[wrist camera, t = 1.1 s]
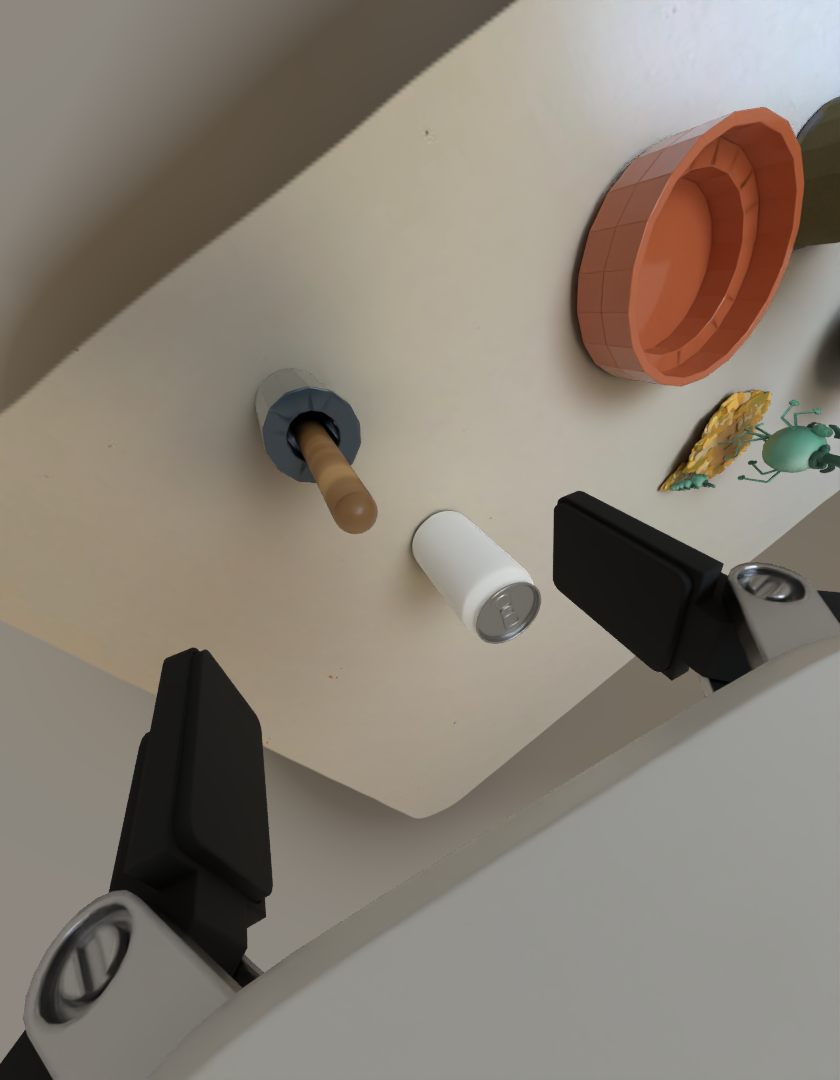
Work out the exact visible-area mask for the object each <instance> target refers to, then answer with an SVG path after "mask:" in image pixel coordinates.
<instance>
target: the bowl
mask: <svg viewBox="0 0 840 1080" xmlns="http://www.w3.org/2000/svg"><path fill="white" fill-rule="evenodd" d="M803 193H804V174H803V163H802V153H801V147H800V145H799V142H798V140H797V138H796V136H795V134H794V132H793V130H792V128H791V126H790V124H789V121H787V120H786V119H784V118H783V117H781V116H779V115H778V114H776V113H774V112H773V111H771V110H769V109H767V108H766V107H760V108H754V109H747V110H741V111H735V112H732V113H730V114H727V115H725V116H722V117H719V118H717V119H714V120H712V121H709V122H707V123H704V124H701V125H699V126H696V127H694V128H691V129H689V130H686V131H683V132H681V133H678V134H676V135H673V136H671V137H668V138H665V139H663V140H661V141H659V142H658V143H657V144H655V145H654V146H652V147H651V148H650V149H648V150H647V151H645V152H644V153H642V154H641V155H640V156H638V157H637V158H635V159H634V160H633V161H632V162H631V164H630V165H629V166H628V168H627V169H626V170H625V171H624V173H623V174H622V175H621V177H620V178H619V179H618V180H617V182H616V183H615V184H614V186H613V187H612V188H611V189H610V191H609V192H608V193H607V195H606V198H605V200H604V202H603V204H602V206H601V208H600V210H599V212H598V215H597V217H596V219H595V221H594V223H593V225H592V227H591V229H590V231H589V235H588V239H587V243H586V247H585V251H584V255H583V259H582V263H581V267H580V271H579V276H578V299H577V315H578V319H579V324H580V329H581V334H582V339H583V342H584V345H585V347H586V349H587V350H588V352H589V354H590V356H591V357H592V359H593V361H594V362H595V364H596V365H598V366H599V367H600V368H602V369H603V370H605V371H606V372H608V373H609V374H611V375H612V376H616V377H621V378H627V379H632V380H638V381H644V382H649V383H655V384H660V385H671V386H684V385H686V384H689V383H692V382H695V381H698V380H700V379H703V378H705V377H706V376H708V375H709V374H710V373H712V372H713V371H715V370H716V369H717V368H719V367H720V366H721V365H723V364H724V363H725V362H727V361H728V360H729V359H730V358H731V357H732V356H733V354H734V353H735V352H736V351H737V350H738V349H739V348H740V347H741V345H742V344H743V343H744V342H745V341H746V340H747V339H748V338H749V336H750V335H751V333H752V332H753V330H754V329H755V327H756V326H757V324H758V323H759V321H760V319H761V318H762V316H763V315H764V313H765V312H766V310H767V308H768V307H769V305H770V303H771V302H772V300H773V297H774V295H775V293H776V291H777V289H778V286H779V284H780V282H781V280H782V278H783V275H784V273H785V271H786V269H787V266H788V263H789V260H790V256H791V253H792V250H793V246H794V243H795V239H796V236H797V233H798V229H799V225H800V217H801V209H802V201H803Z"/></svg>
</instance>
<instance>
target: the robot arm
mask: <svg viewBox="0 0 840 1080" xmlns="http://www.w3.org/2000/svg"><path fill="white" fill-rule="evenodd" d="M722 567H723V563H721V562H719V561H717V560H715V559H713V558H711V557H709V556H708V555H706V554H704V553H702V552H700V551H698V550H696V549H694V548H692V547H690V546H688V545H686V544H684V543H682V542H680V541H678V540H676V539H674V538H672V537H670V536H668V535H667V534H665V533H663V532H661V531H659V530H657V529H655V528H653V527H651V526H649V525H647V524H645V523H643V522H641V521H639V520H637V519H635V518H633V517H631V516H629V515H627V514H626V513H624V512H622V511H620V510H618V509H616V508H614V507H612V506H610V505H608V504H606V503H604V502H602V501H600V500H598V499H596V498H594V497H592V496H590V495H588V494H586V493H585V492H582V491H576V492H574V493H572V494H569V495H567V496H564V497H562V498H560V499H559V500H558V503H557V505H556V506H555V508H554V541H553V581H554V584H555V586H556V587H557V589H558V590H559V591H560V592H562V593H563V594H564V595H565V596H566V597H567V598H569V599H570V600H571V601H572V602H573V603H574V604H576V605H577V606H578V607H579V608H580V609H582V610H583V611H584V612H585V613H586V614H587V615H589V616H590V617H591V618H592V619H593V620H594V621H596V622H597V623H598V624H599V625H600V626H602V627H603V628H604V629H605V630H606V631H607V632H609V633H610V634H611V635H612V636H613V637H614V638H616V639H617V640H618V641H619V642H620V643H622V644H623V645H624V646H625V647H626V648H627V649H629V650H630V651H631V652H632V653H633V654H634V655H636V656H637V657H638V658H639V659H640V660H642V661H643V662H644V663H645V664H646V665H648V666H649V667H650V668H652V669H653V670H654V671H657V672H662V673H663V674H664V675H666V676H667V677H668V678H669V679H670V680H674V679H675V678H677V677H678V676H680V675H682V674H684V673H686V672H687V671H688V670H689V667H690V668H692V669H693V670H694V671H695V672H697V673H698V676H699V680H700V683H701V686H702V689H703V693H704V697H705V698H704V699H702V700H701V701H699V702H697V703H696V704H694V705H692V706H691V707H689V708H687V709H686V710H684V711H682V712H681V713H679V714H677V715H676V716H674V717H672V718H671V719H669V720H667V721H666V722H664V723H662V724H661V725H659V726H657V727H656V728H654V729H653V730H651V731H649V732H648V733H646V734H645V735H643V736H641V737H639V738H638V739H636V740H634V741H633V742H631V743H630V744H628V745H626V746H624V747H623V748H621V749H620V750H618V751H616V752H615V753H613V754H611V755H610V756H608V757H607V758H605V759H603V760H601V761H600V762H598V763H597V764H595V765H593V766H592V767H590V768H588V769H587V770H585V771H583V772H582V773H580V774H579V775H577V776H575V777H574V778H572V779H570V780H569V781H567V782H565V783H564V784H562V785H561V786H559V787H557V788H556V789H554V790H552V791H551V792H549V793H547V794H546V795H544V796H543V797H541V798H539V799H538V800H536V801H535V802H533V803H531V804H529V805H528V806H526V807H525V808H523V809H521V810H520V811H518V812H516V813H515V814H513V815H511V816H510V817H508V818H507V819H505V820H504V821H502V822H500V823H498V824H497V825H495V826H494V827H492V828H490V829H489V830H487V831H486V832H484V833H482V834H481V835H479V836H478V837H476V838H474V839H473V840H471V841H469V842H468V843H466V844H464V845H463V846H461V847H460V848H458V849H457V850H455V851H453V852H452V853H450V854H448V855H447V856H445V857H444V858H442V859H440V860H439V861H437V862H435V863H434V864H432V865H431V866H429V867H427V868H426V869H424V870H423V871H421V872H419V873H418V874H416V875H414V876H413V877H411V878H410V879H408V880H406V881H405V882H403V883H401V884H400V885H398V886H396V887H395V888H393V889H392V890H390V891H388V892H387V893H385V894H384V895H382V896H380V897H379V898H377V899H376V900H374V901H373V902H371V903H369V904H368V905H366V906H365V907H363V908H362V909H360V910H359V911H357V912H355V913H354V914H352V915H351V916H349V917H348V918H346V919H345V920H343V921H341V922H340V923H338V924H337V925H335V926H334V927H332V928H330V929H329V930H327V931H326V932H324V933H323V934H321V935H320V936H318V937H317V938H315V939H314V940H312V941H310V942H309V943H307V944H306V945H304V946H302V947H301V948H299V949H298V950H296V951H295V952H293V953H292V954H290V955H289V956H287V957H286V958H285V959H283V960H282V961H280V962H279V963H277V964H276V965H275V966H273V967H272V968H271V969H269V970H268V971H266V972H265V973H264V972H263V971H262V970H261V969H260V968H258V967H257V966H256V965H255V964H254V963H253V962H252V961H251V960H250V959H249V958H248V957H246V955H244V953H245V951H246V949H247V928H248V927H250V926H251V925H253V924H255V923H256V922H258V921H260V920H262V919H263V918H265V917H266V909H265V897H267V896H269V895H270V894H271V892H272V886H273V882H272V867H271V853H270V840H269V827H268V812H267V799H266V785H265V772H264V758H263V745H262V731H261V726H260V722H259V719H258V717H257V716H256V714H255V713H254V711H253V710H252V709H251V707H250V706H249V705H248V703H247V702H246V701H245V699H244V698H243V697H242V695H241V694H240V693H239V691H238V690H237V688H236V687H235V686H234V684H233V683H232V682H231V680H230V679H229V678H228V676H227V675H226V674H225V672H224V671H223V670H222V668H221V667H220V666H219V664H218V663H217V662H216V660H215V659H214V658H213V656H212V655H211V653H210V652H209V651H208V650H203V651H199V650H198V649H196V648H190V649H188V650H185V651H183V652H180V653H178V654H175V655H173V656H170V657H168V658H166V659H165V660H164V663H163V667H162V672H161V677H160V682H159V688H158V693H157V698H156V703H155V709H154V714H153V719H152V724H151V730H150V732H148V733H146V734H145V736H144V737H143V738H142V740H141V744H140V746H139V751H138V755H137V760H136V765H135V770H134V775H133V780H132V784H131V789H130V794H129V799H128V803H127V808H126V813H125V818H124V822H123V827H122V832H121V837H120V841H119V846H118V851H117V856H116V861H115V865H114V870H113V875H112V880H111V885H110V889H109V893H108V894H105V895H103V896H101V897H98V898H97V899H95V900H94V901H92V902H91V903H90V904H88V905H87V906H86V907H84V908H83V909H82V910H80V911H79V912H78V913H77V914H76V915H75V916H74V917H73V918H72V919H71V920H70V921H69V922H68V923H67V924H66V926H65V927H64V928H63V929H62V930H61V932H60V933H59V934H58V935H57V937H56V938H55V940H54V941H53V942H52V944H51V945H50V946H49V948H48V949H47V951H46V953H45V954H44V956H43V958H42V960H41V962H40V963H39V966H38V967H37V969H36V971H35V973H34V975H33V978H32V981H31V984H30V987H29V989H28V992H27V995H26V999H25V1008H24V1016H23V1020H24V1024H25V1028H26V1030H25V1031H24V1032H23V1034H22V1035H21V1036H20V1038H19V1039H18V1041H17V1042H16V1043H15V1045H14V1046H13V1047H12V1049H11V1050H10V1051H9V1053H8V1054H7V1055H6V1057H5V1058H4V1059H3V1061H2V1062H1V1064H0V1080H840V593H837V592H828V591H818V590H816V589H815V588H814V586H813V585H812V584H811V583H810V582H809V581H808V580H807V579H806V578H804V577H803V576H801V575H800V574H798V573H796V572H794V571H792V570H789V569H787V568H784V567H781V566H777V565H773V564H768V563H759V562H756V563H744V564H740V565H737V566H736V567H734V568H732V569H731V571H730V573H729V575H728V576H727V575H725V574H723V573H722V572H721V570H722Z"/></svg>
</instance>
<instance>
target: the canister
mask: <svg viewBox="0 0 840 1080" xmlns="http://www.w3.org/2000/svg"><path fill="white" fill-rule="evenodd" d="M797 140H798V142H799V145H800V147H801V153H802V163H803V174H804V193H803V201H802V209H801V217H800V225H799V229H798V233H797V236H796V239H795V243H794V246H793V250H796V249H799V248H803V247H805V246H808V245H818V244H827V243H837V242H840V97H837V98H835V99H833V100H831V101H829V102H828V103H826V104H824V105H823V106H822V108H821V109H820V110H819V111H818V112H817V113H816V114H815V115H814V116H813V117H812V118H811V119H810V120H809V121H808V122H807V124H806V125H805V127H804V128H803V129H802V131H801V132H800V134H799V136H798V137H797Z"/></svg>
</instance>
